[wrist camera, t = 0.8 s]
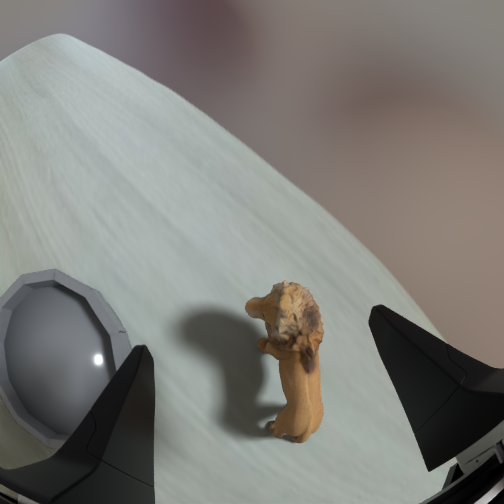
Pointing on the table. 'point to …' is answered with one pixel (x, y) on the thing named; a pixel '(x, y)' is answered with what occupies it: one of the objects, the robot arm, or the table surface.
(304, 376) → the lion figurine
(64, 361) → the round dish
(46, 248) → the table surface
